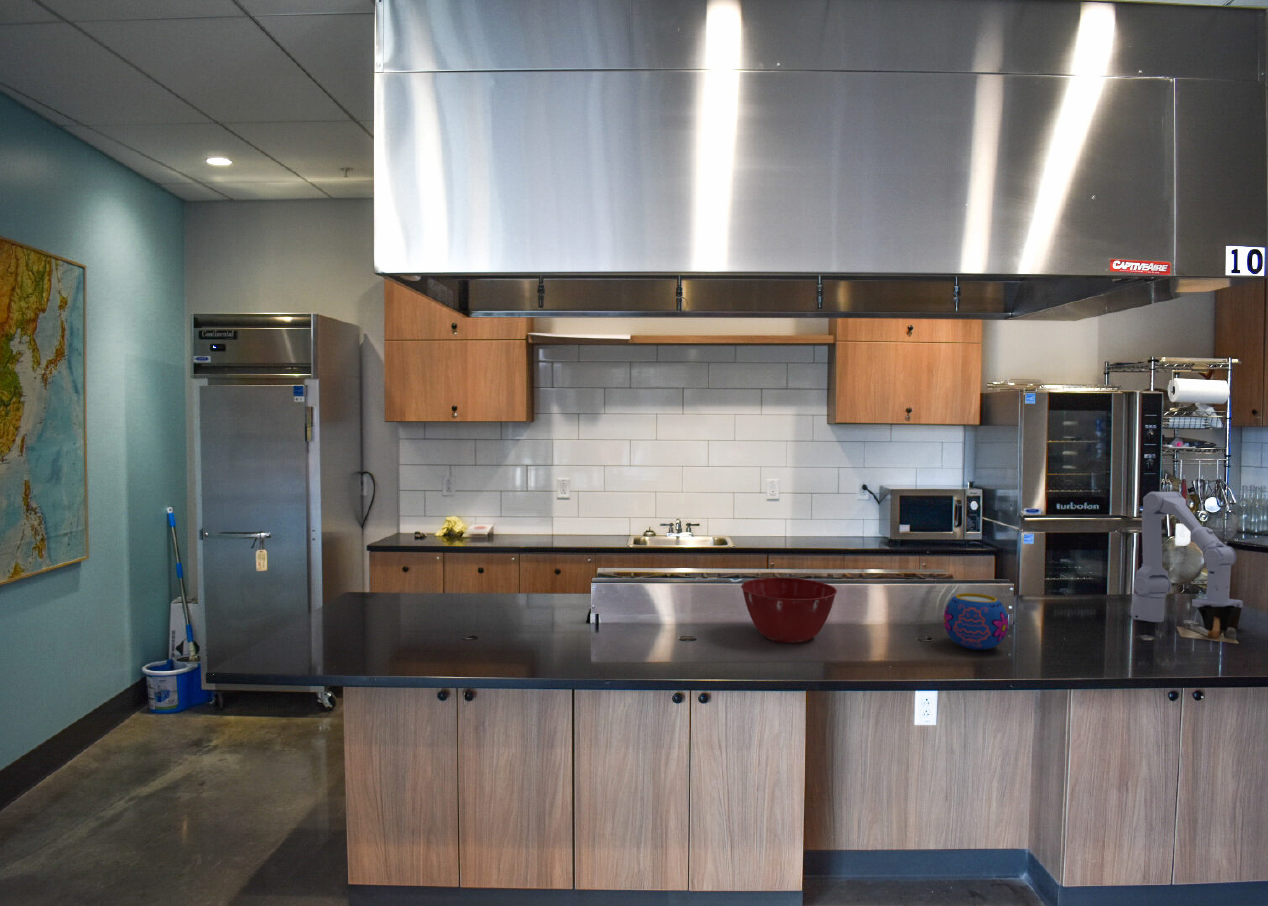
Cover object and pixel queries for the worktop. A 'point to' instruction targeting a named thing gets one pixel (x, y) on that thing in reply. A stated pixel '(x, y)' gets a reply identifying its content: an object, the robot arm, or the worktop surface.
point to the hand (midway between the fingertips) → (1215, 630)
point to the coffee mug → (1234, 620)
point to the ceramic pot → (976, 621)
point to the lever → (1212, 634)
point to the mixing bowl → (788, 607)
